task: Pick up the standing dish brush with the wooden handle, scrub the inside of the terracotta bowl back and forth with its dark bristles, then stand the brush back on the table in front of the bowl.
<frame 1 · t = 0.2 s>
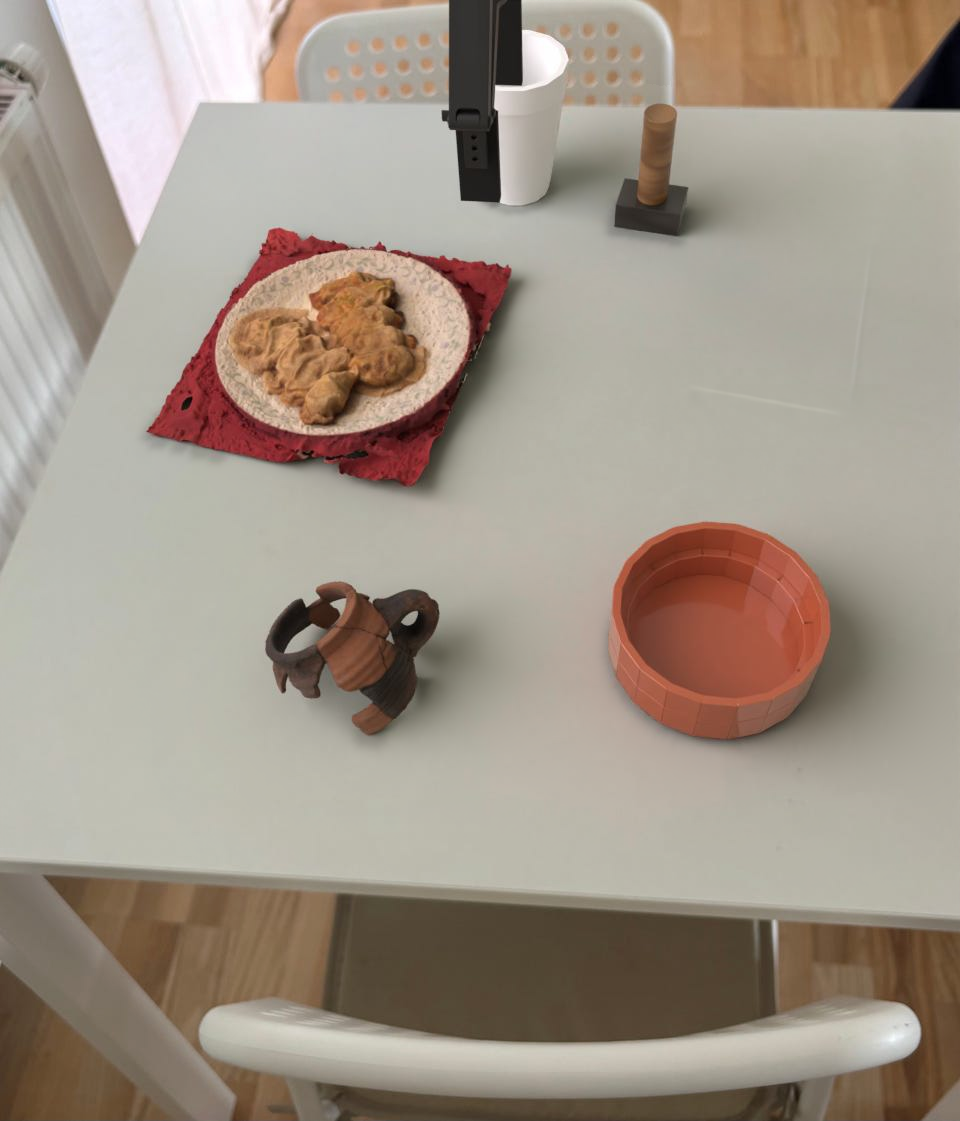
hand: (493, 138, 79), 20 cm above the table, tool pointing down, fingers open, 13 cm apart
pottery mug: (365, 670, 78), on the table
plate with food: (338, 357, 95), on the table
bowl: (709, 649, 77), on the table
foam cup: (516, 186, 107), on the table
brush: (649, 217, 103), on the table
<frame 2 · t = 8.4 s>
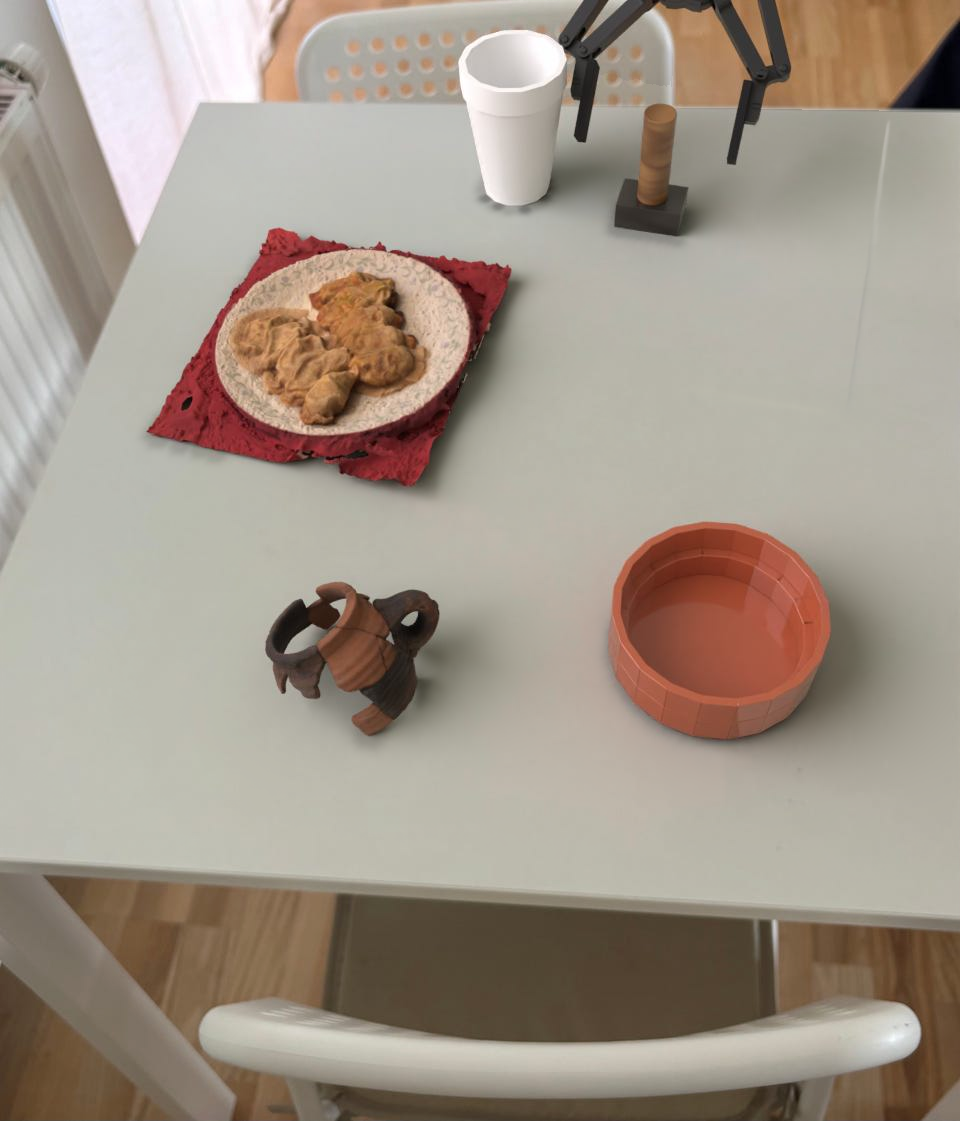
hand: (654, 151, 98), 7 cm above the table, tool tilted 45°, fingers open, 13 cm apart
foam cup: (516, 186, 107), on the table, touching gripper, hand
everything else where it was.
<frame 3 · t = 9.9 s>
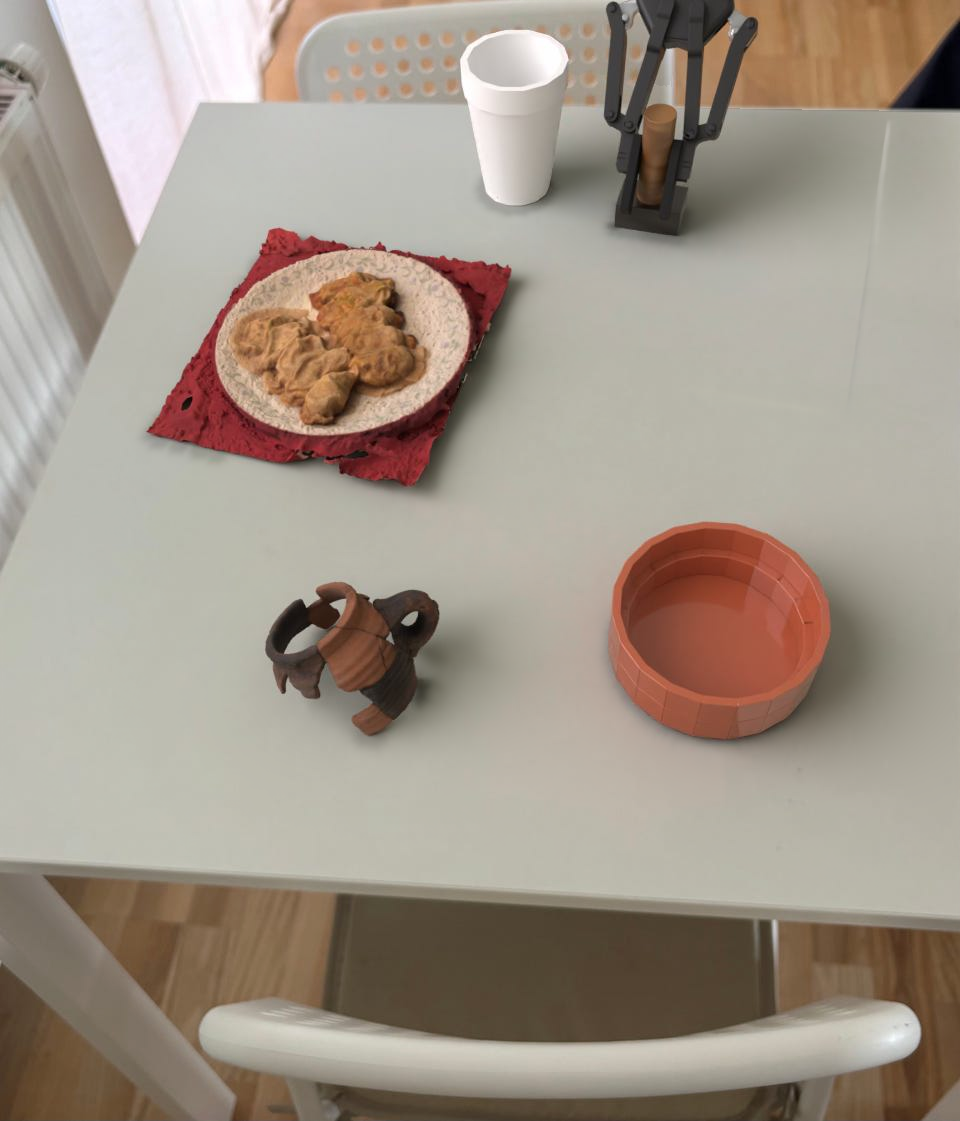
hand: (644, 215, 99), 3 cm above the table, tool tilted 45°, fingers closed on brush, 3 cm apart
foam cup: (516, 186, 107), on the table
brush: (650, 217, 103), on the table, touching gripper
everything else where it was.
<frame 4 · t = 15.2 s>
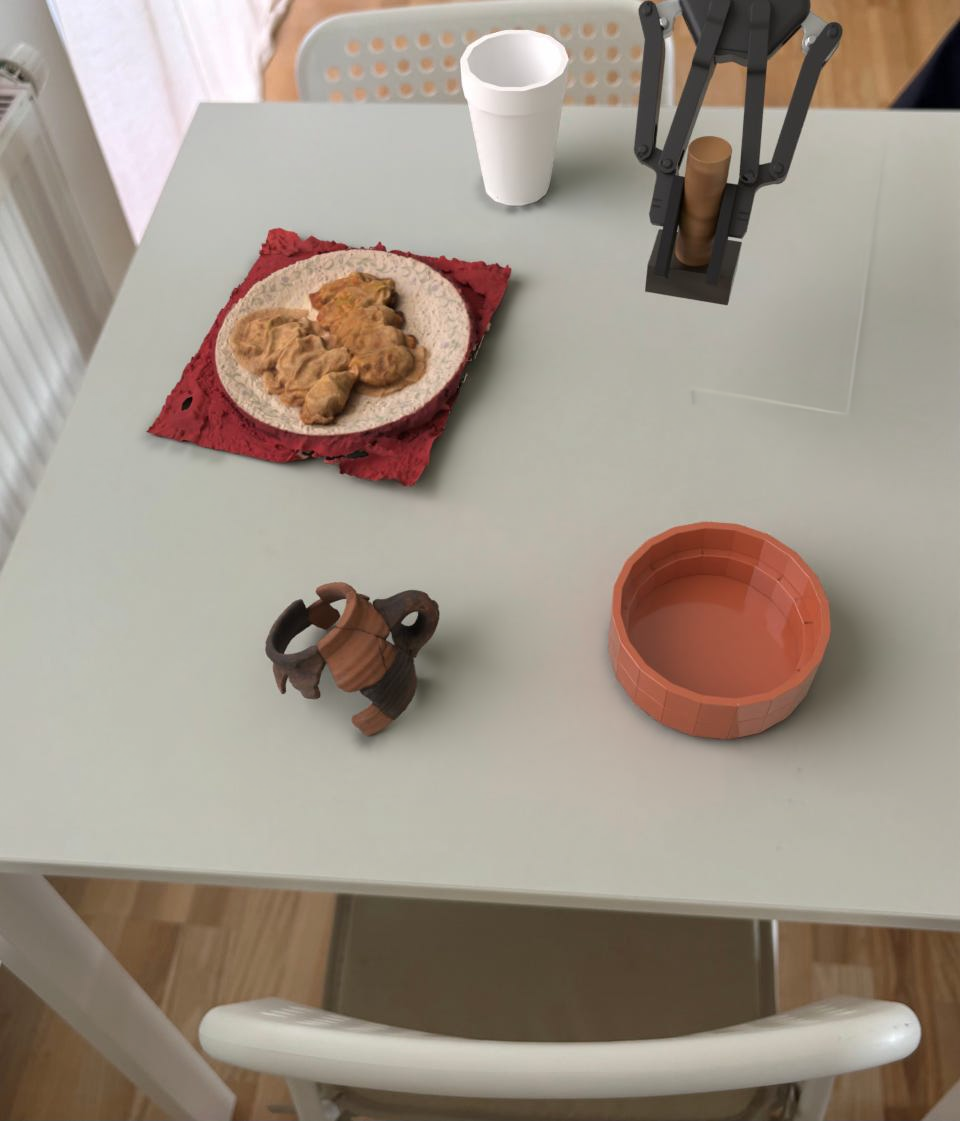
hand: (686, 280, 75), 16 cm above the table, tool tilted 45°, fingers closed on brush, 3 cm apart
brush: (691, 280, 80), point 13 cm above the table, touching gripper
everything else where it was.
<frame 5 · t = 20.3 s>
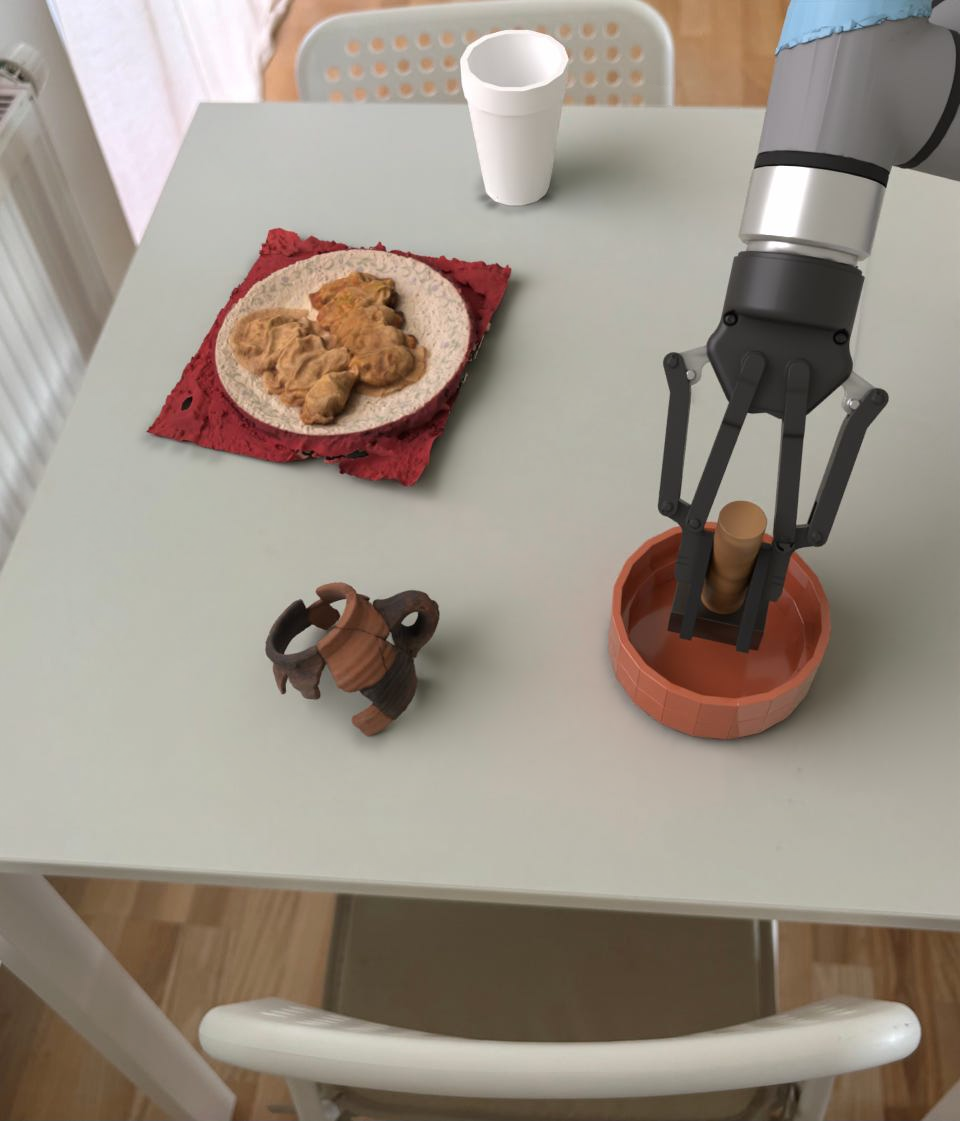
hand: (714, 639, 69), 8 cm above the table, tool tilted 45°, fingers closed on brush, 3 cm apart
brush: (716, 616, 74), point 5 cm above the table, touching gripper
everything else where it was.
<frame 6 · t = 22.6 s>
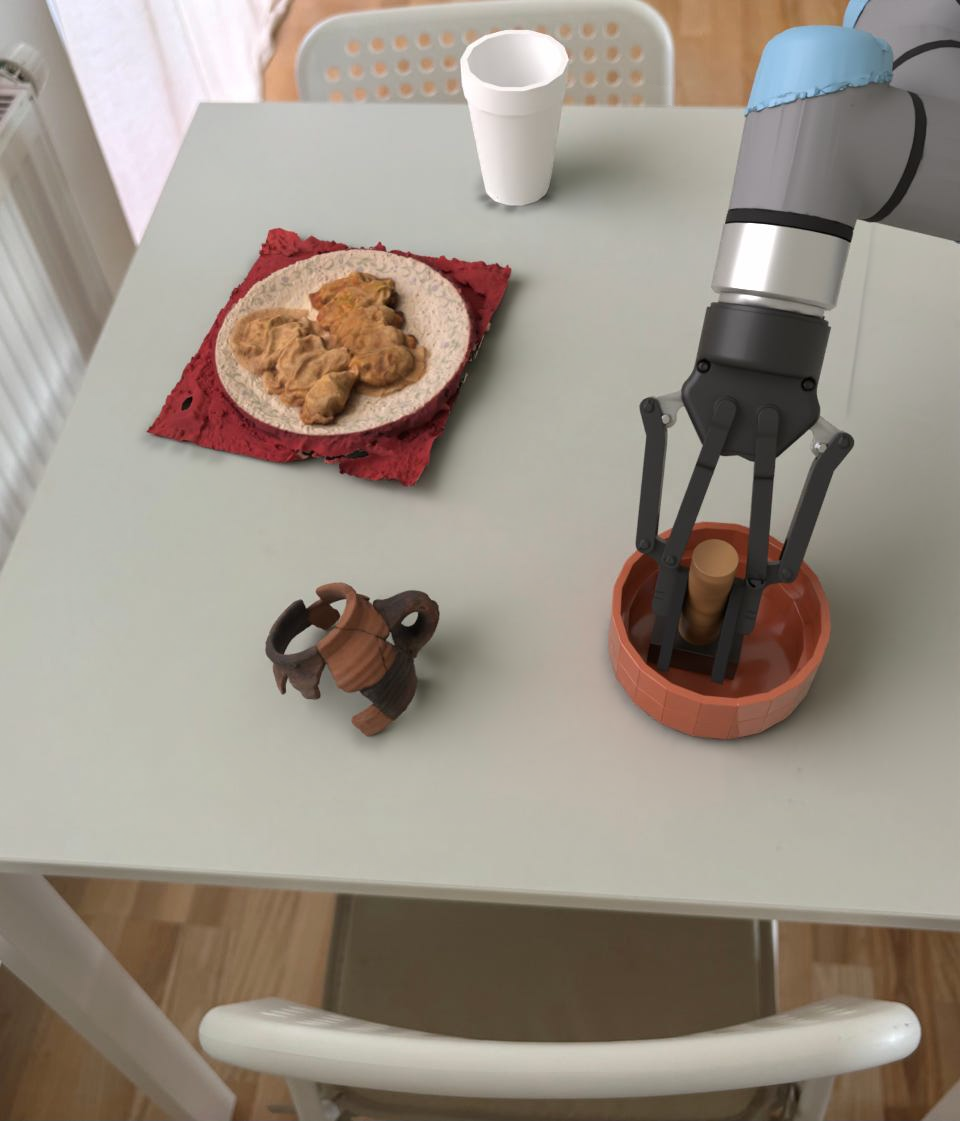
hand: (690, 670, 72), 4 cm above the table, tool tilted 45°, fingers closed on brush, 3 cm apart
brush: (694, 646, 77), point 1 cm above the table, touching gripper
everything else where it was.
when the fingers open (3 cm above the table, at t = 30.8 s): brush stays where it is, on the table.
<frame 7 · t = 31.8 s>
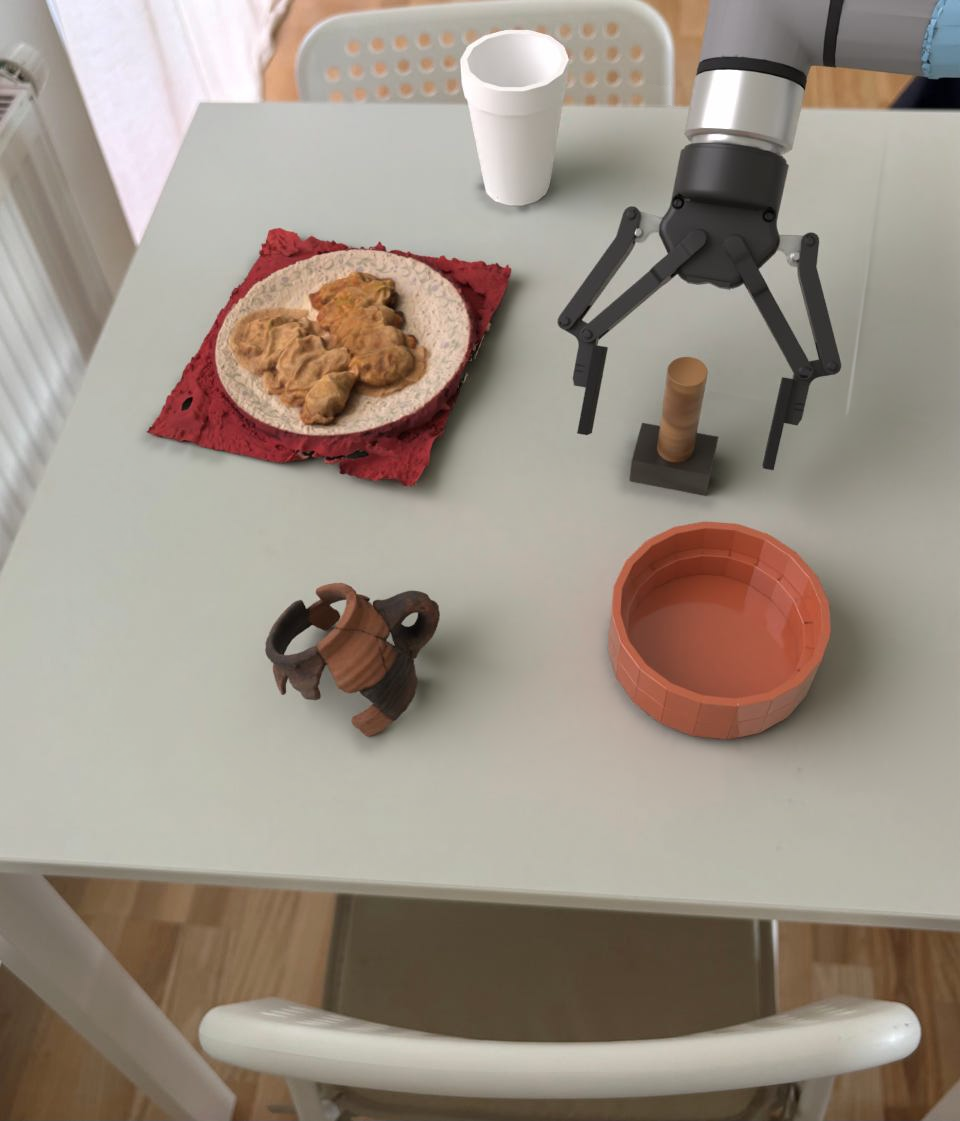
hand: (674, 450, 81), 5 cm above the table, tool tilted 45°, fingers open, 13 cm apart
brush: (672, 468, 87), on the table
everything else where it was.
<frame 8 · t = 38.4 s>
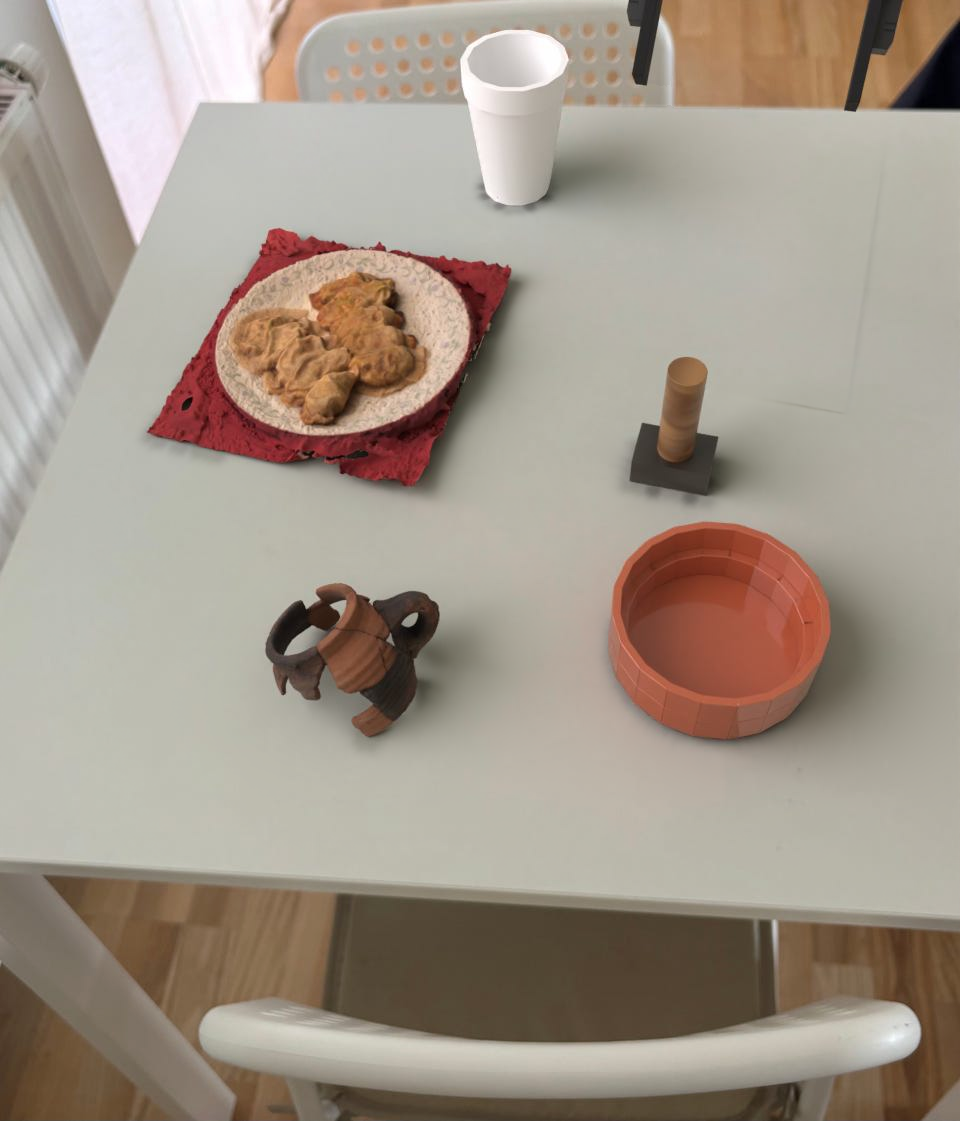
hand: (743, 93, 71), 26 cm above the table, tool tilted 45°, fingers open, 13 cm apart
nothing on the table moved.
at the end: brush inside the target area on the table beside the bowl (0.1 cm from its centre), on the table; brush tilted 0°; the gripper is holding nothing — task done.
